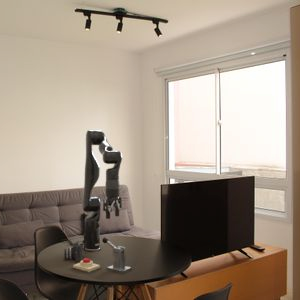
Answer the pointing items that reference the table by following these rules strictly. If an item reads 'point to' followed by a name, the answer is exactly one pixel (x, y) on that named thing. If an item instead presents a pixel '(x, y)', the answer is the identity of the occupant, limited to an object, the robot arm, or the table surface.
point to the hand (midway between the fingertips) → (112, 217)
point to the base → (119, 260)
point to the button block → (86, 266)
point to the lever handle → (105, 240)
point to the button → (86, 260)
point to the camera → (74, 251)
